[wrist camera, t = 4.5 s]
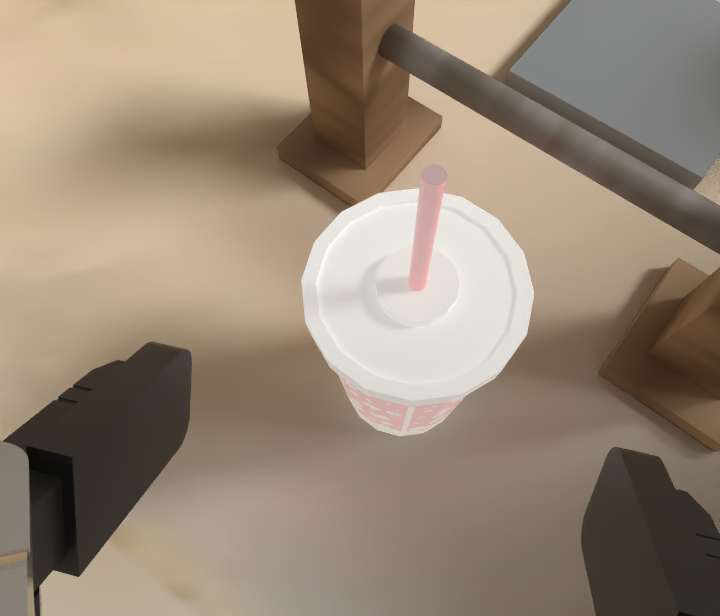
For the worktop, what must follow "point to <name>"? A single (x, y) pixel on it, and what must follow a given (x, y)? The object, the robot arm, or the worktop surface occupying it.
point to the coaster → (634, 78)
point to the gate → (536, 126)
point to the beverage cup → (416, 302)
